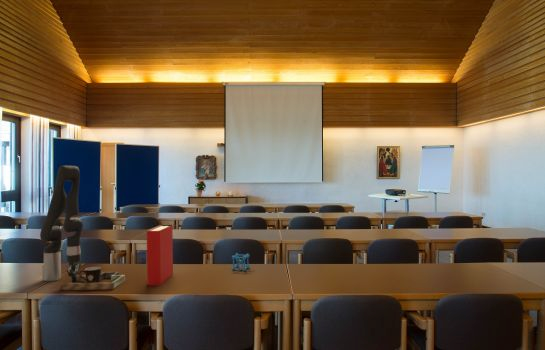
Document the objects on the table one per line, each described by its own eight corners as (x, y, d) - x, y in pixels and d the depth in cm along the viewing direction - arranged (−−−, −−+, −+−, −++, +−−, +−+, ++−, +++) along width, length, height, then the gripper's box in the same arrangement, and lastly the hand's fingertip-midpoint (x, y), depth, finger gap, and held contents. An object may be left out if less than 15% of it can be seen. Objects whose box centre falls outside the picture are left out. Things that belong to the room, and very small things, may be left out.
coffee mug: (104, 284, 244) (104, 267, 243) (92, 288, 236) (92, 270, 236) (90, 282, 248) (90, 265, 248) (78, 286, 241) (78, 269, 241)
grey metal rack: (60, 289, 233) (60, 283, 233) (82, 277, 260) (82, 272, 260) (113, 289, 233) (113, 283, 233) (129, 277, 260) (129, 271, 260)
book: (160, 273, 268) (160, 224, 268) (172, 273, 268) (172, 224, 267) (146, 285, 241) (145, 230, 240) (159, 285, 240) (159, 230, 240)
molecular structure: (231, 270, 274) (231, 255, 274) (236, 267, 284) (236, 253, 284) (245, 271, 272) (245, 256, 272) (250, 268, 282) (249, 253, 282)
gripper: (72, 251, 249) (73, 279, 249) (61, 255, 235) (61, 286, 235) (85, 251, 249) (85, 279, 249) (74, 255, 235) (75, 285, 235)
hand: (74, 282), depth 242 cm, fingers closed
